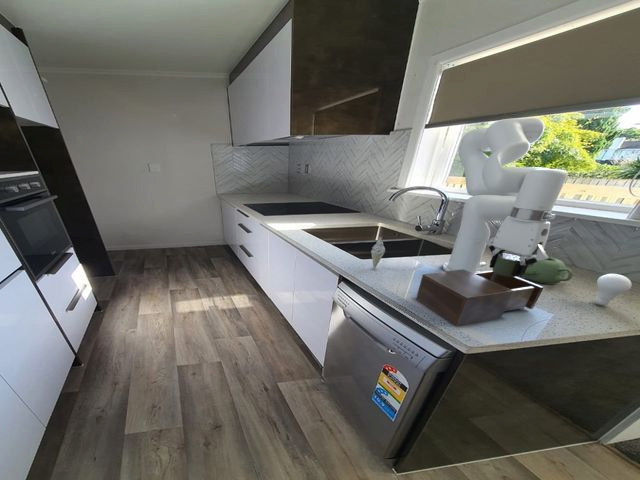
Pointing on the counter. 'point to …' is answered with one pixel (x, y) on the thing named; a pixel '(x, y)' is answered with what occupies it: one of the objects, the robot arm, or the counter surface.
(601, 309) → the counter surface
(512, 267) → the tin
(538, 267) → the green rounded ceramic pot
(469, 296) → the wooden box
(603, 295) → the lightbulb
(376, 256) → the ice cream cone
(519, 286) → the drawer
